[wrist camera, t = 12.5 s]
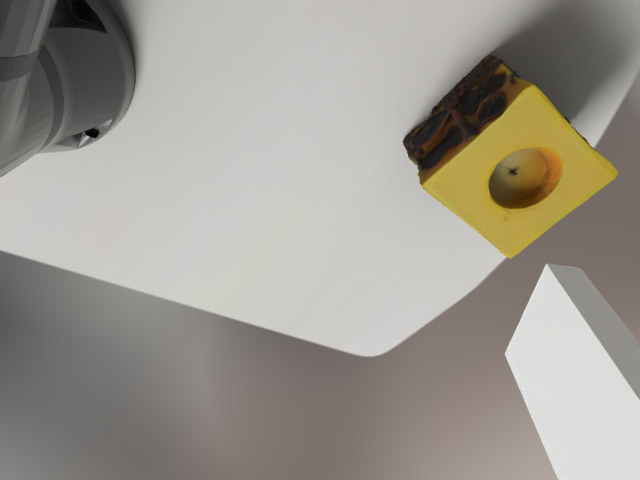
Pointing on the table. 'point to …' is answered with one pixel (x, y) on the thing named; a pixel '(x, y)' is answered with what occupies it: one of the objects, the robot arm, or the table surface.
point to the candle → (505, 158)
